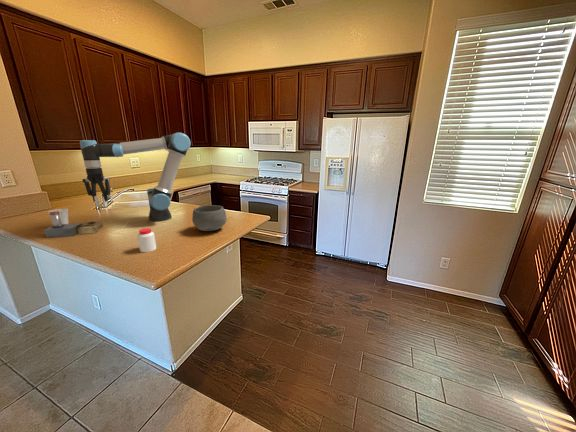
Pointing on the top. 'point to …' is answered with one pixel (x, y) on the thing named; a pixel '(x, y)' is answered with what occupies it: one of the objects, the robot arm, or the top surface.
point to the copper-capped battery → (56, 219)
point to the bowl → (209, 217)
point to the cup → (62, 215)
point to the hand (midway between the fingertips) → (102, 206)
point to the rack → (92, 223)
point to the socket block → (62, 230)
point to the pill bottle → (146, 240)
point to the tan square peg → (87, 229)
